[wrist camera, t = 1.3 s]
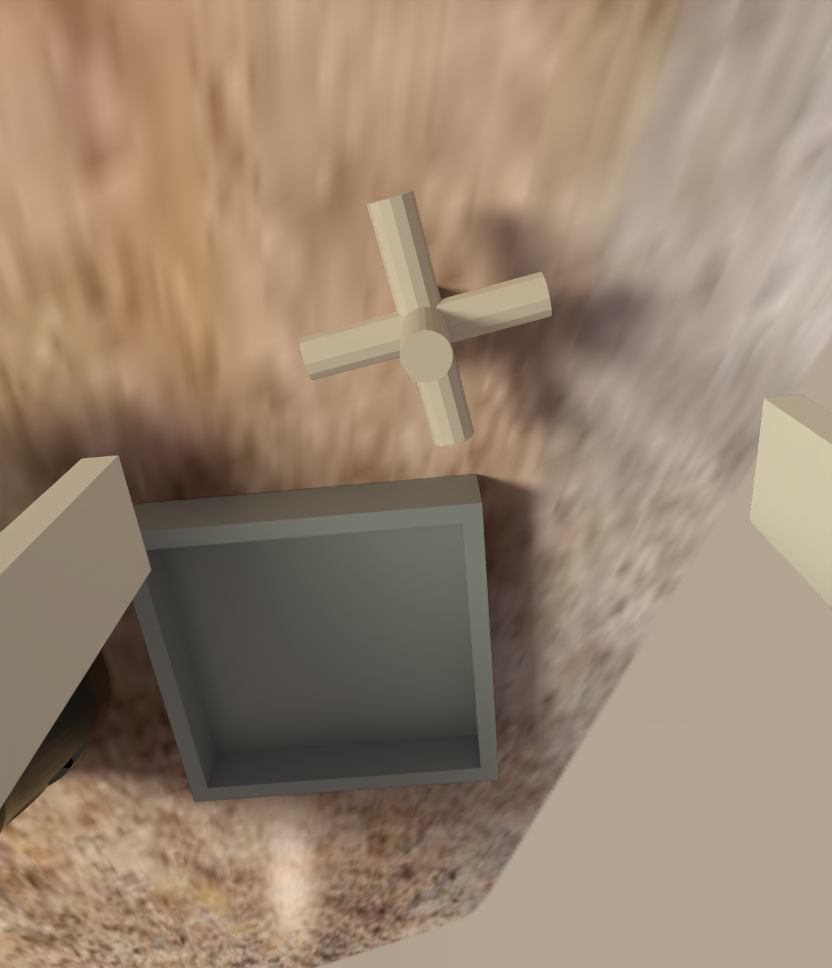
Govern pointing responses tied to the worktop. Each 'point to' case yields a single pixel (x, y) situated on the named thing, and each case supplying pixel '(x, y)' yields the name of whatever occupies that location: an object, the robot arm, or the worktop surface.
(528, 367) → the worktop surface
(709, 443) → the worktop surface
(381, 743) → the tray
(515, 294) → the pipe connector
